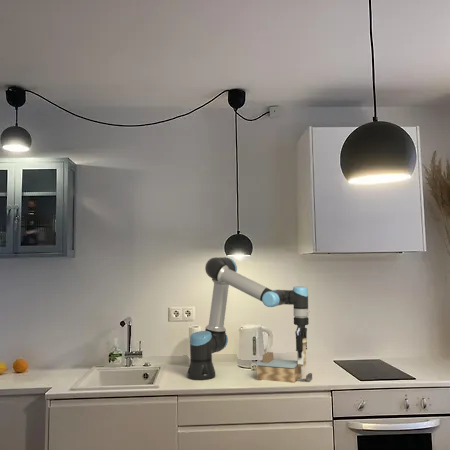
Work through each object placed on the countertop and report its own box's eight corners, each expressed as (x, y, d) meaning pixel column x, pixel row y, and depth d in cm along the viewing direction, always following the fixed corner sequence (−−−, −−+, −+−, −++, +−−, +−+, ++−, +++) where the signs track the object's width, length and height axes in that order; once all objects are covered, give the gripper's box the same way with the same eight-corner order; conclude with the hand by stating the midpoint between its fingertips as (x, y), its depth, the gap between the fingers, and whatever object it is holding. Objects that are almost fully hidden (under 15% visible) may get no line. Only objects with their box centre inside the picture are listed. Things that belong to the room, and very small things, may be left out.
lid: (256, 365, 231) (256, 355, 231) (265, 360, 243) (265, 350, 243) (293, 368, 222) (293, 358, 223) (301, 362, 234) (300, 353, 235)
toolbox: (257, 380, 230) (256, 366, 231) (265, 374, 242) (265, 361, 243) (307, 384, 219) (306, 370, 220) (314, 378, 231) (313, 364, 231)
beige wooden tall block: (296, 366, 226) (296, 339, 227) (298, 364, 230) (298, 337, 231) (304, 367, 224) (304, 339, 225) (307, 365, 228) (306, 338, 229)
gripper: (303, 319, 220) (304, 367, 218) (312, 315, 235) (313, 360, 233) (289, 318, 223) (289, 366, 222) (298, 314, 238) (299, 359, 237)
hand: (301, 363), depth 227 cm, fingers closed on beige wooden tall block, 3 cm apart
